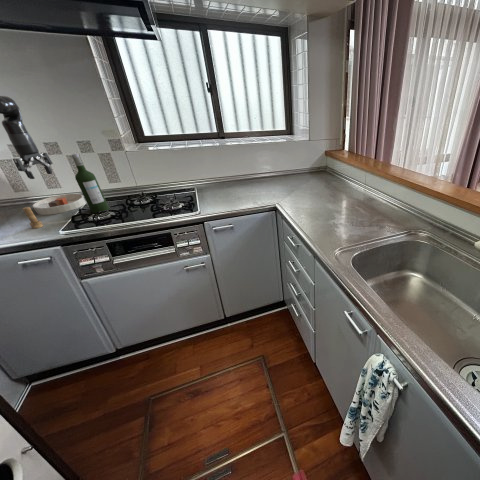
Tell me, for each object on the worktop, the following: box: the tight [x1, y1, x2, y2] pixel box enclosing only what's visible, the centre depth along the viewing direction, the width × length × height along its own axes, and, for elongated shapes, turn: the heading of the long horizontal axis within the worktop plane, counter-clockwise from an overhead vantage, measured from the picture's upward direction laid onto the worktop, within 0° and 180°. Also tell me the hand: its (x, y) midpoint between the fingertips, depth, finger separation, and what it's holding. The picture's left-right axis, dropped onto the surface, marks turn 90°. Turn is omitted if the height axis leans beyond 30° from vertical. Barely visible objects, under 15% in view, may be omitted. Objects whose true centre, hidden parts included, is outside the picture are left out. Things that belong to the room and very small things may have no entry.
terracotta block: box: [55, 198, 68, 205], centre depth 150 cm, size 4×4×4 cm
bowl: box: [32, 193, 87, 216], centre depth 148 cm, size 21×21×4 cm
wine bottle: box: [71, 153, 110, 214], centre depth 138 cm, size 8×8×30 cm
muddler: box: [22, 206, 44, 230], centre depth 126 cm, size 4×4×10 cm
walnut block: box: [48, 201, 61, 207], centre depth 146 cm, size 4×4×4 cm
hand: (41, 176), depth 136 cm, fingers open, 8 cm apart
